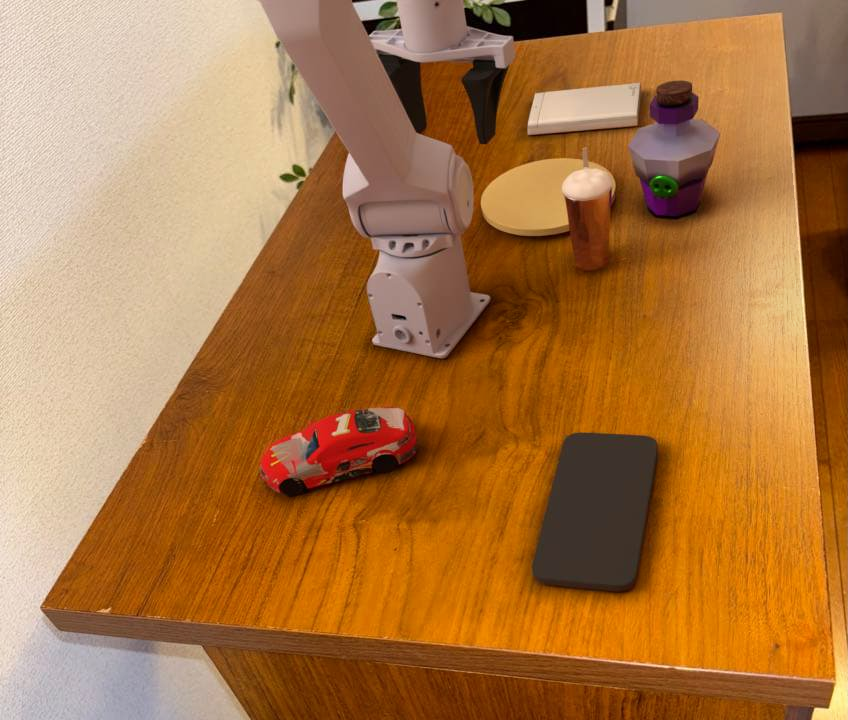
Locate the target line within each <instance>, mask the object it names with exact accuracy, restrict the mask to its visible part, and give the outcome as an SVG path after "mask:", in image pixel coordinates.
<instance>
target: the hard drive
mask: <svg viewBox="0 0 848 720" xmlns="http://www.w3.org/2000/svg"><path fill="white" fill-rule="evenodd" d="M641 98H642V84H641V82H634V83H625V84H615V85H614V84H613V85H603V86H591V87H583V88H573V89H572V88H571V89H562V90H550V91H543V92H535V93H534V97H533V100H532V105H531V108H530V113H529V116H528V120H527V136H536V135H546V134H547V135H548V134H556V133H558V134H560V133H571V132H582V131H593V130H594V131H595V130H605V129H615V128H627V127H629V128H630V127H638V125H639V116H640V109H641V108H640V107H641Z"/></svg>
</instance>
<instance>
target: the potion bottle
mask: <svg viewBox="0 0 848 720" xmlns="http://www.w3.org/2000/svg"><path fill="white" fill-rule="evenodd" d="M655 93H656V94H655V95H654V96H653V98H652V100H651V101H650V103H649V118H651V120H653V121H654V123H652V124H651V123H650V124H649V125H645V126H643V127H640V128H637V130H636V132H635V134H634V135H633V137H632V138H631V140H630V142H629V143H628V145H627V147H628V151H629V155H630V158H631V162H632V166H633V170H634V172H635V173H634V174H635V176H636V177H638V178H639V181H640V185H641V189H642V192H643V195H644V199H645V200H644V201H645V204H646V205H645V207H644V209H645V210H646V211H647V212H649V214H651V215H652V216H653V217H654V218H656V219H667V220H679V219H682V218H684V217H688V216H691V215H693V214H696V213H697V212H698V210H699V208H700V206H701V204H702V202H703V200H702V196H703V193H704V189H705V185H706V181H707V177H708V173H709V169H710V168H711V166H712V165H713V162H714V158H715V155H716V151H717V147H718V144H719V139H720V136H721V131H719V130H718V129H717V128H715V127H714V126H713V125H711V124H710V123H708V122H707V121H706V120H704V119H703V118H702V119H701V118H695V116H696V115H697V113H698V111H699V96H698V95H697V94H696V93H694V92H693V83H692V82H691V81H688V80H682V79H681V80H671V81H666V82H664V83H662V84H659V85H657V86H656V90H655Z"/></svg>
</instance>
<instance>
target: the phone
mask: <svg viewBox="0 0 848 720" xmlns="http://www.w3.org/2000/svg"><path fill="white" fill-rule="evenodd" d="M658 446H659V445H658V441H657V440H656V439H655V438H654V437H652V436H648V435H644V434H642V435H641V434H626V433H625V434H622V433H602V432H584V431H583V432H581V431H580V432H573V433H571V434H569V435H567V436H566V437H565V438H564V440H563V443H562V446H561V449H560V453H559V455H558V456H559V457H558V461H557V465H556V468H555V473H554V477H553V480H552V483H551V489H550V492H549V497H548V500H547V503H546V504H547V505H546V508H545V511H544V516H543V519H542V524H541V529H540V531H539V536H538V539H537V544H536V547H535V551H534V556H533V558H532V564H531V571H532V576H533V579H534V580H535V581H536V582H537V583H538V584H539V583H540V584H541V585H547V586H554V587H566V588H576V589H586V590H596V591H597V590H598V591H605V592H625V591H628V590H630V589H631V588H632V587H633V586H634V585H635V584H636V581H637V577H638V572H639V566H640V560H641V555H642V549H643V543H644V537H645V531H646V525H647V518H648V514H649V507H650V502H651V495H652V492H653V486H654V481H655V472H656V467H657V460H658V455H659V454H658V453H659V452H658V449H659V447H658Z"/></svg>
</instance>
